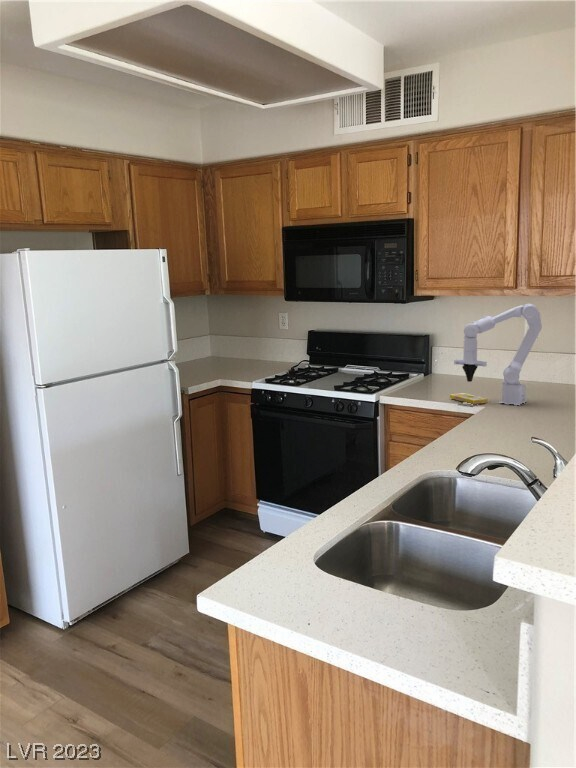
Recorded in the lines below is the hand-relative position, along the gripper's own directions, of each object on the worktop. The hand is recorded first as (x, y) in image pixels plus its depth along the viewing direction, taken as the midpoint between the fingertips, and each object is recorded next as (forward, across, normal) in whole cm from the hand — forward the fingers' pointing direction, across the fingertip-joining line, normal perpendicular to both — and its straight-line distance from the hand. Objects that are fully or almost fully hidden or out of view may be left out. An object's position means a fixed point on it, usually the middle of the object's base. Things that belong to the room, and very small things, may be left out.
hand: (469, 381), depth 274 cm
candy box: (+8, +3, +3) cm, 9 cm away
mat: (+9, -2, +4) cm, 10 cm away
